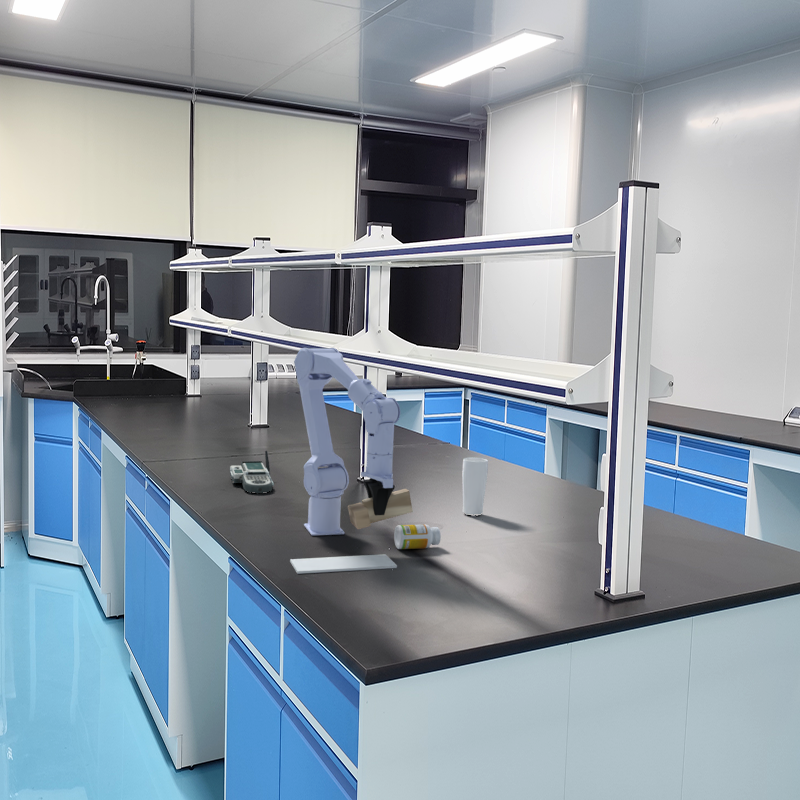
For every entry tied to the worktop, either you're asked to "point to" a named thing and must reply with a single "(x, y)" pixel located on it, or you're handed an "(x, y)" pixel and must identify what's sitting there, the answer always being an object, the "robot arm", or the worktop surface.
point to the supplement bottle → (416, 536)
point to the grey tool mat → (342, 563)
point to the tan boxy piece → (395, 507)
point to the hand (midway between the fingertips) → (377, 513)
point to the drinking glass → (474, 484)
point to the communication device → (253, 475)
